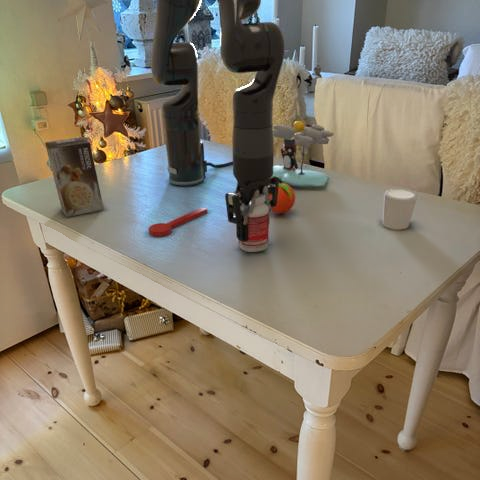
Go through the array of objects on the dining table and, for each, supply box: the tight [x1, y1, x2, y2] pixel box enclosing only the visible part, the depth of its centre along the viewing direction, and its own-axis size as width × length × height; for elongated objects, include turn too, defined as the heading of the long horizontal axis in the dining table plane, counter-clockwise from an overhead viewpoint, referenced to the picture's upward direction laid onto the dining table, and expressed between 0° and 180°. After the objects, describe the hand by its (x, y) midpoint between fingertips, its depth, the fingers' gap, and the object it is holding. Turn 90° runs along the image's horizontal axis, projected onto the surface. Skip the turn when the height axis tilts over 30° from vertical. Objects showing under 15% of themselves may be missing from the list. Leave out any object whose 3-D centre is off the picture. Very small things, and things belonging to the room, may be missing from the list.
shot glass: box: [382, 188, 418, 231], centre depth 107 cm, size 7×7×7 cm
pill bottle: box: [237, 194, 270, 253], centre depth 97 cm, size 6×6×11 cm
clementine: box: [270, 182, 296, 214], centre depth 113 cm, size 8×7×7 cm
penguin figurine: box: [272, 120, 334, 189], centre depth 129 cm, size 20×11×15 cm, turn 53°
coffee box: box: [44, 136, 105, 218], centre depth 115 cm, size 9×6×16 cm
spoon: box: [148, 206, 209, 238], centre depth 111 cm, size 17×5×1 cm, turn 141°
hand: (253, 234), depth 99 cm, fingers closed on pill bottle, 6 cm apart
